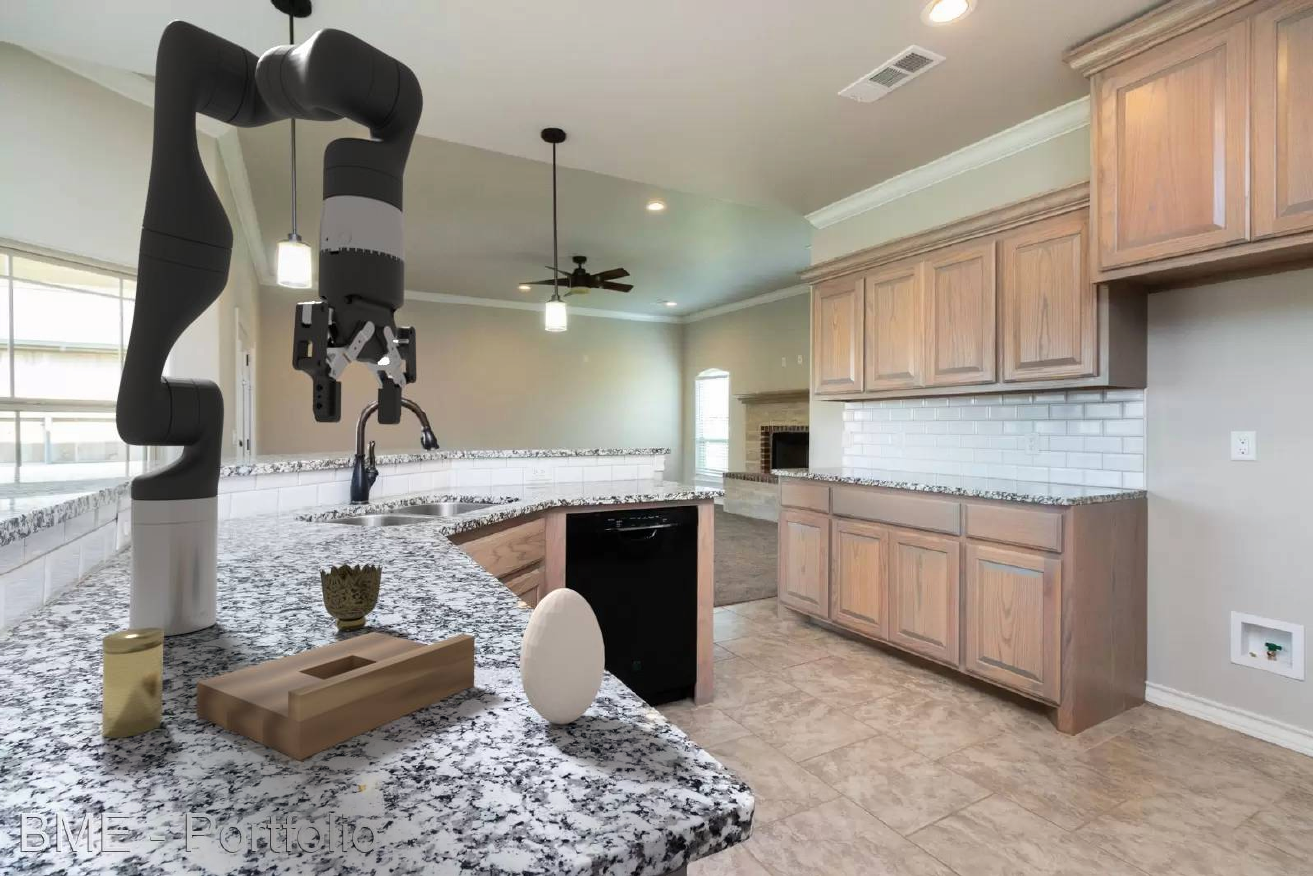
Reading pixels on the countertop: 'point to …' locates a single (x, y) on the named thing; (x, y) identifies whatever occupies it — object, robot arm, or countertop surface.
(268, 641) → the countertop surface
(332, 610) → the cup
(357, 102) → the robot arm
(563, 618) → the egg
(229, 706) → the jig
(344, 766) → the countertop surface
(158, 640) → the brass cylinder peg
